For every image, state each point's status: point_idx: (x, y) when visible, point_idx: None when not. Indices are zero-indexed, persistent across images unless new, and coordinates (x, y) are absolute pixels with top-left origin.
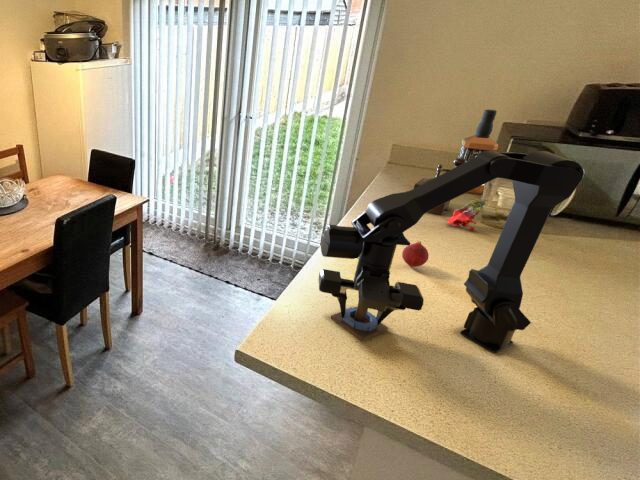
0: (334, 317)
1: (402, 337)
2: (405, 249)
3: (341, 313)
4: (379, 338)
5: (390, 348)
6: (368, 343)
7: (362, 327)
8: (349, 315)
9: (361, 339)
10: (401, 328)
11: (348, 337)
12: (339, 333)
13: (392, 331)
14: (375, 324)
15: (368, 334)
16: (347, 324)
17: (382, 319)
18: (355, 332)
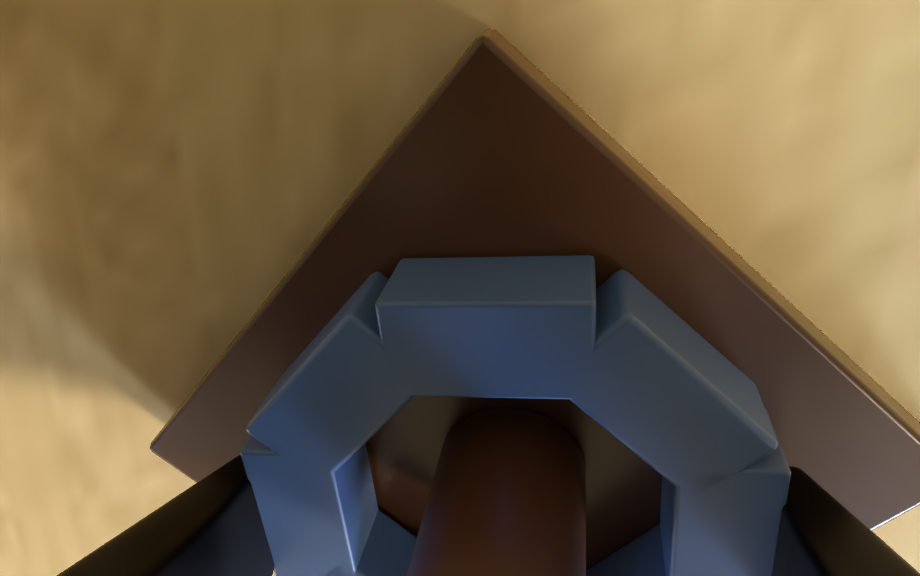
0: (911, 449)
1: (11, 347)
2: None
3: (865, 528)
4: (239, 219)
5: (75, 35)
6: (377, 10)
7: (472, 285)
8: (686, 522)
9: (489, 35)
10: (58, 494)
11: (710, 31)
12: (868, 86)
13: (125, 418)
14: (266, 416)
15: (376, 189)
16: (706, 338)
17: (143, 528)
18: (591, 159)
